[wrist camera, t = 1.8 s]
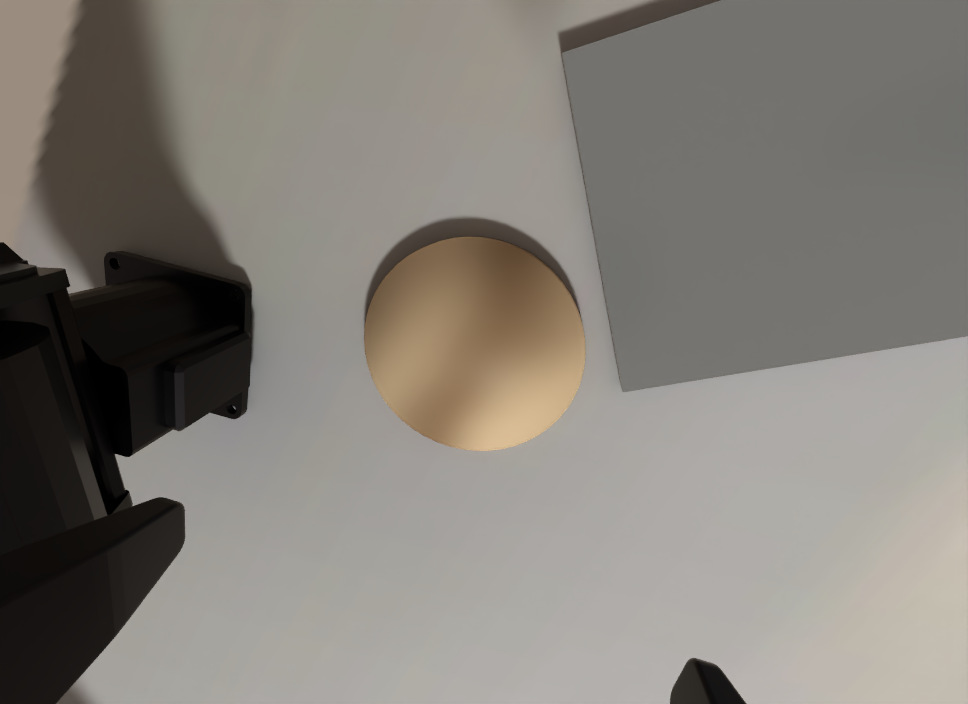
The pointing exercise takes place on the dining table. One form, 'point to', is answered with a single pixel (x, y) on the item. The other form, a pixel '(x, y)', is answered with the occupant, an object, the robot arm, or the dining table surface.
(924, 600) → the dining table surface
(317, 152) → the dining table surface
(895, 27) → the slate coaster
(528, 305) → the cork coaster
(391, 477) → the dining table surface
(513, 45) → the dining table surface
